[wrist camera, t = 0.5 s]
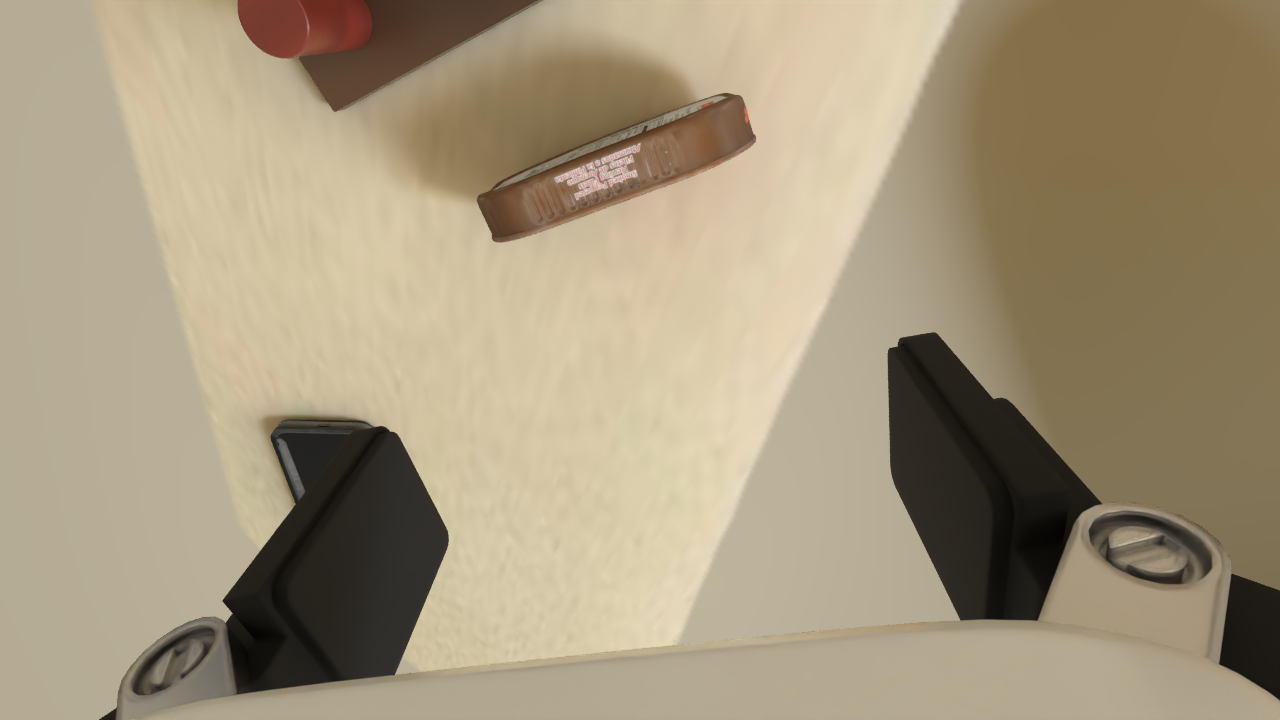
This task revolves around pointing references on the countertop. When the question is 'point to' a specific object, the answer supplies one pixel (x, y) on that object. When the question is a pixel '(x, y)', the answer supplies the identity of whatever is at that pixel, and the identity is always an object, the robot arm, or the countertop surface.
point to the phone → (309, 448)
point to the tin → (618, 167)
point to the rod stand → (367, 37)
